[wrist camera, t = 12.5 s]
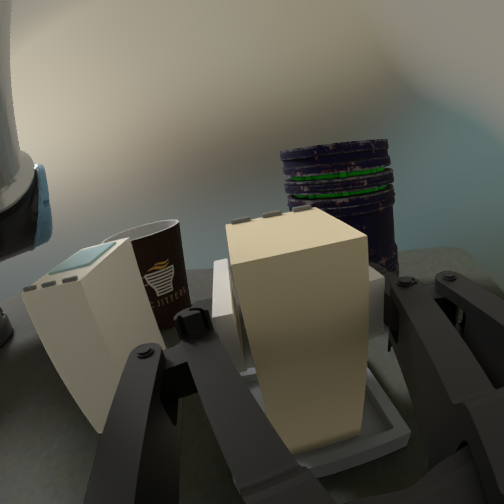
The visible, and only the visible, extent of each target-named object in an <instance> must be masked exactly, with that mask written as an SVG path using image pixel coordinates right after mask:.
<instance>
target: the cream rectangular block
mask: <svg viewBox="0 0 504 504" xmlns="http://www.w3.org/2000/svg"><path fill="white" fill-rule="evenodd" d="M231 223H232V224H227V225H226V232H227V238H228V246H229V253H230V260H231V266H232V271H233V275H234V280H235V284H236V289H237V293H238V298H239V302H240V307H241V311H242V315H243V320H244V324H245V328H246V333H247V337H248V341H249V345H250V350H251V354H252V358H253V362H254V366H255V370H256V375H257V379H258V383H259V387H260V391H261V395H262V399H263V403H264V407H265V411H266V415H267V418H268V419H269V421H270V423H271V424H272V426H273V427H274V429H275V430H276V432H277V433H278V435H279V436H280V438H281V439H282V441H283V442H284V443H285V445H286V446H287V448H288V449H289V451H290V452H291V454H292V455H294V454H298V453H302V452H306V451H310V450H314V449H317V448H321V447H324V446H328V445H331V444H334V443H337V442H340V441H344V440H347V439H349V438H352V437H355V436H358V435H360V431H361V423H362V415H363V406H364V396H365V385H366V373H367V358H368V336H369V261H368V239H367V235H365V234H364V233H362V232H360V231H358V230H356V229H355V228H353V227H351V226H349V225H348V224H346V223H344V222H342V221H340V220H338V219H337V218H335V217H333V216H331V215H329V214H327V213H326V212H324V211H322V210H320V209H318V208H316V207H314V208H311V205H310V204H309V205H303V206H298V207H293V208H292V212H287V213H281V210H277V211H272V212H267V213H262V218H257V219H252V220H251V219H250V216H247V217H242V218H237V219H232V220H231Z"/></svg>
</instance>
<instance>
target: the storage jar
mask: <svg viewBox="0 0 504 504" xmlns="http://www.w3.org/2000/svg"><path fill="white" fill-rule="evenodd" d="M387 149H388V140H387V139H377V140H364V141H352V142H342V143H333V144H325V145H317V146H310V147H304V148H297V149H292V150H286V151H281V152H280V157H281V161H283V164H284V168H283V174H284V176H285V177H291V178H290V179H286V180H284V186H285V192H286V193H287V194H290V195H289V196H288V206H289V209H290V212H292V208H293V207H298V206H303V205H309V204H310V205H311V208H314V207H316V208H318V209H320V210H322V211H324V212H326V213H327V214H329V215H331V216H333V217H335V218H337V219H338V220H340V221H342V222H344V223H346V224H348V225H349V226H351V227H353V228H355V229H356V230H358V231H360V232H362V233H364V234H365V235H367V239H368V261H369V262H373V263H376V264H379V265H381V266H382V267H384V269H387V270H388V271H390V272H391V273H392V274H394V275H395V276H397V277H399V263H398V254H397V245H396V243H395V240H394V239H395V238H394V219H393V207H392V206H393V204H394V202H395V198H394V196H395V193H394V187H393V185H392V184H391V183H393V182H394V177H393V170H392V169H391V168H384V167H385V166H389V165H391V162H390V156H388V151H387Z"/></svg>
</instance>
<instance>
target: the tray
mask: <svg viewBox="0 0 504 504" xmlns="http://www.w3.org/2000/svg"><path fill="white" fill-rule="evenodd" d="M239 373H240V375H241V377H242V378H243V380H244V381H245V383H246V385H247V386H248V388H249V390H250V391H251V393H252V394H253V396H254V398H255V399H256V401H257V402H258V404H259V406H260V407H261V409H262V410H263V412H264V413H265V415H266V411H265V407H264V403H263V399H262V395H261V391H260V387H259V383H258V379H257V375H256V370H255V367H253V368H248V369H247V371H244V372H239ZM266 416H267V415H266ZM410 434H411V430H410V429H409V427H408V426H407V424H406V423H405V421H404V420H403V418H402V417H401V415H400V414H399V412H398V411H397V409H396V408H395V406H394V405H393V403H392V402H391V400H390V399H389V397H388V396H387V395H386V393H385V392H384V390H383V389H382V387H381V386H380V384H379V383H378V381H377V380H376V379H375V377H374V376H373V374H372V373H371V371H370V370H369V368H368V367H367V373H366V385H365V396H364V406H363V415H362V423H361V431H360V435H358V436H355V437H352V438H349V439H347V440H344V441H340V442H337V443H334V444H331V445H328V446H324V447H321V448H317V449H314V450H310V451H306V452H302V453H298V454H294V455H293V457H294V458H295V459H296V461H297V462H298V463H299V465H301V466H306V467H307V468H308V469H309V470H310V471H311V472H312V473H313V474H314V475H315V477H316V478H321V477H324V476H328V475H331V474H334V473H337V472H341V471H344V470H347V469H350V468H353V467H356V466H358V465H361V464H364V463H367V462H369V461H372V460H375V459H377V458H380V457H382V456H385V455H387V454H389V453H392V452H394V451H396V450H399V449H401V448H403V447H405V446H407V444H408V441H409V438H410ZM233 483H234V485H235V487H236V488H237V490H238V492H239V493H240V491H239V488H238V486H237V484H236V482H235V480H234V478H233Z"/></svg>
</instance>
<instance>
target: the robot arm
mask: <svg viewBox="0 0 504 504" xmlns="http://www.w3.org/2000/svg"><path fill="white" fill-rule="evenodd" d="M11 7H12V0H0V262H1V261H4V260H6V259H9V258H11V257H14V256H17V255H19V254H22V253H24V252H27V251H31V250H33V249H35V247H37V246H39V245H42V244H44V243H46V242H48V241H49V239H50V238H51V236H52V216H51V208H50V203H49V192H48V185H47V179H46V173H45V169H44V167H43V165H41V164H38V165H37V164H34V163H33V161H32V159H31V157H30V156H29V155H28V154H27V153H25V152H23V151H21V150H20V147H19V142H18V136H17V130H16V124H15V117H14V109H13V101H12V90H11V76H10V19H11ZM459 308H461V309H462V310H463V311H464V313H463V319H462V321H460V320H459V319H458V314H459ZM174 323H175V326H176V329H177V331H178V334H179V337H180V340H181V342H180V343H179V344H177V345H175V346H173V347H171V348H168V349H165V350H162V348H161V346H160V345H159V344H157V343H146V344H141V345H140V346H137V347H136V348H134V349H133V350H132V351H131V352H130V354H129V356H128V359H127V361H126V364H125V367H124V370H123V372H122V375H121V378H120V381H119V384H118V386H117V389H116V392H115V395H114V398H113V401H112V404H111V407H110V410H109V413H108V416H107V419H106V423H105V426H104V429H103V432H102V436H101V439H100V442H99V446H98V449H97V453H96V456H95V460H94V463H93V467H92V471H91V474H90V478H89V482H88V486H87V490H86V494H85V498H84V503H83V504H179V470H180V446H181V427H182V411H183V397H185V396H188V395H191V394H193V393H196V392H198V393H199V396H200V398H201V401H202V404H203V406H204V409H205V412H206V414H207V417H208V419H209V422H210V424H211V427H212V429H213V432H214V434H215V437H216V439H217V441H218V444H219V446H220V448H221V451H222V453H223V455H224V458H225V460H226V462H227V464H228V467H229V469H230V471H231V473H232V475H233V478H234V480H235V482H236V484H237V486H238V488H239V491H240V494H241V496H242V498H243V501H244V503H245V504H336V502H335V501H334V500H333V499H332V497H331V496H330V495H329V494H328V492H327V491H326V490H325V488H324V487H323V486H322V484H321V483H320V482H319V481H318V479H317V478H316V477H315V475H314V474H313V473H312V472H311V471H310V470H309V469H308V468H307V467H306V466H301V465H299V463H298V462H297V461H296V459H295V458H294V457H293V455H292V454H291V452H290V451H289V449H288V448H287V446H286V445H285V443H284V442H283V441H282V439H281V438H280V436H279V435H278V433H277V432H276V430H275V429H274V427H273V426H272V424H271V423H270V421H269V419H268V418H267V416H266V415H265V413H264V412H263V410H262V409H261V407H260V406H259V404H258V402H257V401H256V399H255V398H254V396H253V394H252V393H251V391H250V390H249V388H248V386H247V385H246V383H245V381H244V380H243V378H242V377H241V375H240V373H239V372H244V371H247V367H246V360H245V353H244V347H243V340H242V333H241V326H240V319H239V312H238V305H237V299H236V295H235V290H234V286H233V282H232V277H231V273H230V268H229V264H228V259H222V260H218V261H214V275H213V298H211V299H206V300H201V301H196V302H195V303H194V305H193V306H192V307H190V308H186V309H184V310H182V311H180V312H178V313H177V314H176V315H175V316H174ZM384 323H385V324H386V325H387V326H388V327H389V339H388V352H389V351H390V350H391V347H393V349H394V352H395V354H396V357H397V360H398V363H399V365H400V368H401V371H402V374H403V376H404V379H405V382H406V385H407V388H408V391H409V394H410V397H411V400H412V403H413V406H414V409H415V412H416V416H417V419H418V422H419V425H420V429H421V432H422V436H423V439H424V443H425V446H426V450H427V454H428V458H429V467H428V473H427V474H426V475H424V476H423V477H422V478H421V479H420V480H418V481H417V482H416V483H415V484H413V485H412V486H411V487H409V488H407V489H403V490H399V491H394V492H390V493H384V494H379V495H373V496H367V497H363V498H360V499H357V500H354V501H351V502H348V503H345V504H504V300H503V299H501V298H499V297H498V296H496V295H495V294H493V293H491V292H490V291H488V290H486V289H485V288H483V287H481V286H480V285H478V284H476V283H475V282H473V281H471V280H470V279H468V278H466V277H464V276H463V275H461V274H459V273H456V272H452V271H443V272H440V273H438V274H436V276H435V284H428V285H422V284H421V282H420V281H419V280H417V279H416V278H413V277H397V276H395V275H394V274H392V273H391V272H390V271H388V270H387V269H384V267H382V266H381V265H379V264H376V263H373V262H369V336H368V339H371V338H374V337H377V336H380V335H383V334H384ZM11 333H12V325H11V323H10V321H9V319H8V317H7V315H6V313H5V312H4V311H2V309H1V308H0V347H1V346H2V345H3V344H4V343H5V342H6V340H7V339H8V338H9V336H10V335H11Z"/></svg>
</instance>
